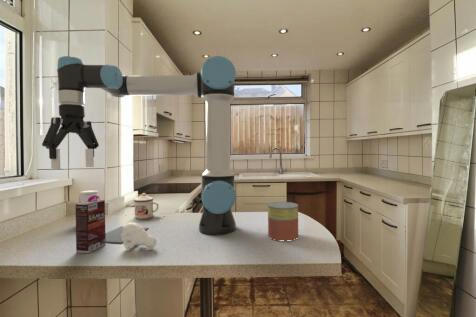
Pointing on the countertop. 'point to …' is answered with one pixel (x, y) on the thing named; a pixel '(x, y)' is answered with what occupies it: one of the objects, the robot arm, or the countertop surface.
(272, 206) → the canned food
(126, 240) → the white irregular piece
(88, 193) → the supplement can
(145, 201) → the teacup with lid
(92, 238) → the supplement box
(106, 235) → the mat
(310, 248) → the countertop surface
